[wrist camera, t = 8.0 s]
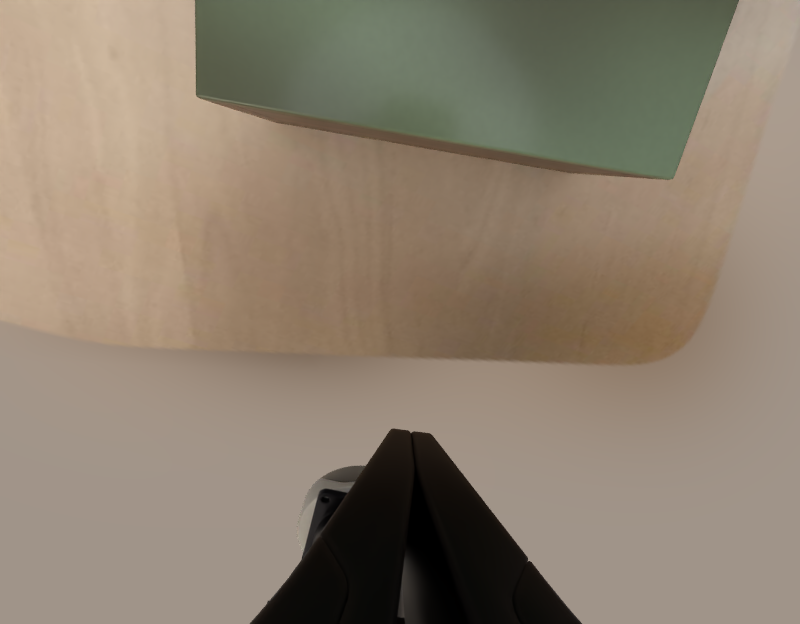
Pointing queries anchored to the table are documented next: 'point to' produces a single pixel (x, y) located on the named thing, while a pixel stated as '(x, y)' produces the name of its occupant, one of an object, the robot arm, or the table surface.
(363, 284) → the table surface
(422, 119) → the lid
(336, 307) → the table surface
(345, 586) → the robot arm
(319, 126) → the chest
